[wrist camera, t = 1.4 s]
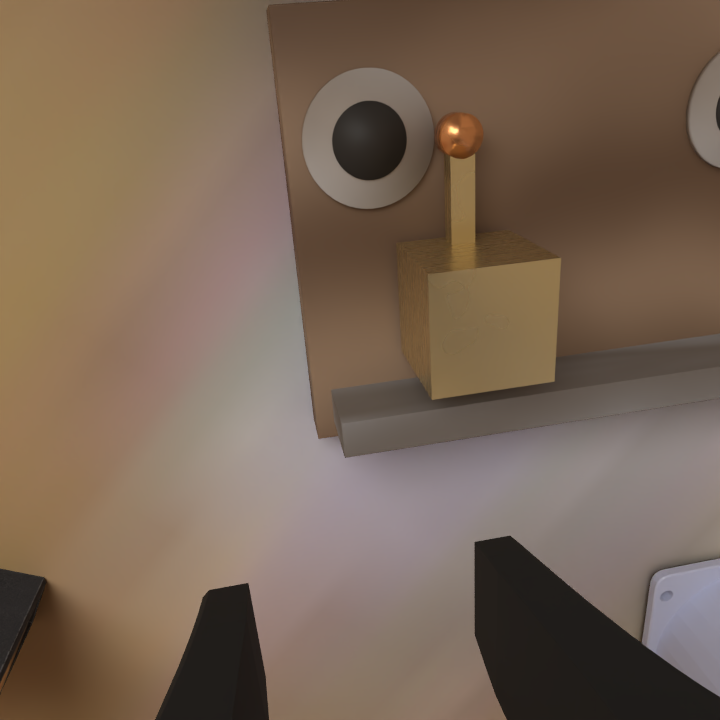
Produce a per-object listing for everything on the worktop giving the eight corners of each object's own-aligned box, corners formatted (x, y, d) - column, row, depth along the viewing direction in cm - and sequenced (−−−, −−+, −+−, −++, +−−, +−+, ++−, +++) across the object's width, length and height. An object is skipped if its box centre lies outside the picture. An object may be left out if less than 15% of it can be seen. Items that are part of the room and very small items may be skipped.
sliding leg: (506, 336, 18) (554, 381, 15) (401, 351, 18) (431, 399, 15) (510, 106, 16) (569, 110, 13) (389, 117, 15) (423, 124, 12)
